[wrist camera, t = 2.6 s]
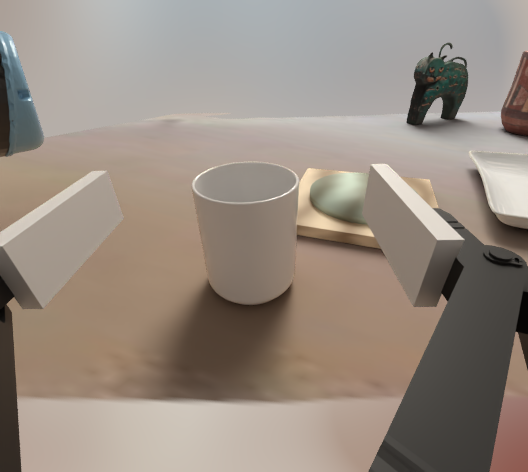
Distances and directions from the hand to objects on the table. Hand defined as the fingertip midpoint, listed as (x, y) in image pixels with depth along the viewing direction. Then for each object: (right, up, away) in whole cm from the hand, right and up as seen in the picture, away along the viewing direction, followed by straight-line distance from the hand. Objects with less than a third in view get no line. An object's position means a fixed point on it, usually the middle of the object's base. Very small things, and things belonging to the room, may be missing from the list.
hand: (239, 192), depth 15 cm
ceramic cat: (+53, +33, +73) cm, 96 cm away
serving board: (+16, +2, +28) cm, 32 cm away
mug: (0, -6, +17) cm, 18 cm away
